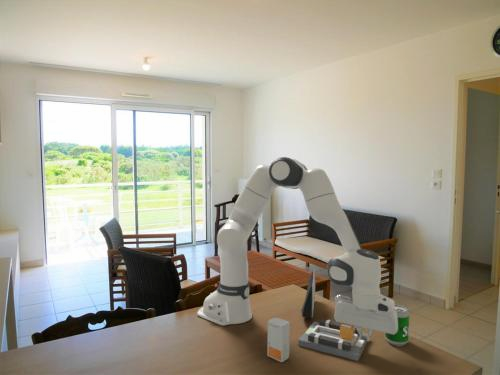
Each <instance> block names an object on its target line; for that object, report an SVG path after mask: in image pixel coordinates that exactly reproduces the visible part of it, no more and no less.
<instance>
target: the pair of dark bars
mask: <svg viewBox="0 0 500 375" xmlns="http://www.w3.org/2000/svg"><path fill="white" fill-rule="evenodd" d="M318 323H319V326H323V327H327V328H332V329H336V330H340V325H341V324H342V323H339V322H334V321H331V319H327V320H324V319H320V320H319V321H318ZM355 334H359V333H358V331H357V326H355ZM308 341H312V342H314V343H317V344H318V343H320V344H324V345H327V346H331V347H335V348H338V349H341V350H342V349H343V350H347V351H350V349H351V343H348V342H344V340H343V339H340V340H336V339H332V338H327V337H323V336H320V334H318V333H317V334H316V335H315V334H311V333H310V334H309V335H308Z"/></svg>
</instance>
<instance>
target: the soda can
mask: <svg viewBox="0 0 500 375" xmlns="http://www.w3.org/2000/svg"><path fill="white" fill-rule="evenodd" d="M394 309H395V310H396V312H397V317H398V331H397V333H396V334H394V335H393V334H389V333H384V334H385V335H384V336H385V340H386V341H387V342H388V343H389V344H391V345H393V346H397V347H403V346H405V345H406V344H408V343H409V336H410V335H409V334H410V312H409V310H408V309H407V308H406V307H405V306H403V305H398V304H395V306H394Z"/></svg>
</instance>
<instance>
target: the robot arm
mask: <svg viewBox="0 0 500 375" xmlns="http://www.w3.org/2000/svg"><path fill="white" fill-rule="evenodd" d="M278 187H282V188H285V189H292V190H296V189H299V190H300V191H301V194H302V196H303V199H304V202H305V205H306V209H307V212H308V213H309V216H310V217H311V218H312V220H314V221H315V222H317V223H320V224H323V225H326V226H328V227H330V228H331V229H333V230H334V231H335V233H336V234H337V237H338V239H339V241H340V244H341V246H342V248H343V251H344V254H341V255H337V256H334V257H333V258H331V259H329V261H328V262H327V264H326V274H327V276H328V278H329V280H330V281H331V282H332V283H334V284H335V285H340V286H350V287H351V291H352V293H351V296H350V295H343V294H338V295H336V296H335V297H334V306H335V308H334V315H333V318H334V319H333V320H334V321H335V323H338V324H342V323H344V324H348V325H353V326H355V327H356V328H357V331H358V333H359V335H360V340H365V341H367V342H370V339H371V338H370V337H371V335H372V334H373V332H374V331H376V332H381V333H383V334H385V333H389V334H393V335H394V334H396V333H397V331H398V317H397V312H396V310H395V309H394V306H395V305H396V304H395V303H396V302H395V300H394V299H392V298H390V297H388V296H386V295H384V294H381V289H380V283H381V279H382V266H381V260H380V257H379V255H378V254H377V253H376V252H375V251H372V250H370V249H365V248H363V247H362V244H361V243H360V240H359V238H358V236H357V234H356V231H355V230H354V227H353V225H352V222H351V220H350V218H349V217H348V215H347V214H346V212H345V211H344V209H343V208H342V207H341V204H340V203H339V200H338V198H337V195H336V192H335V189H334V187H333V185H332V182H331V180H330V177H328V174H327V173H326V171H325V170H324V169H321V168H315V167H314V168H310V169H308V168H307V167H306V165H305V164H304V163H302V162H300V161H298V160H297V159H294V158H291V157H286V156H282V157H278V158H275V159H274V160H273V161H272V162H271V164H270V165H267V164H260V165H258V166H256V168H254V170H253V171H252V172H251V174H250V175H249V177H248V178H247V180H246V181H245V184H244V185H243V188H242V189H241V191H240V193H239V195H238V197H237V199H236V201H235V202H234V205H233V208H232V210H231V212H230V215H229V217H228V219H227V220H226V222H225V223H224V225H223V226H222V227H220V228H219V230H218V232H217V235H216V244H217V247H218V248H217V249H218V257H219V264H220V266H219V267H220V280H219V281H218V282H217V283H215V284H214V285H215V286H214V287H215V288H216V287H217V288H216V290H214V291H213V292H212V293H210V294H209V295H208V296H206V297H205V299H204V301H203V305H202V307H200V308H199V309H198V310H197V312H196V313H197V314H196V315H197V316H198V317H200V318H203V319H205V320H208V321H210V322H212V323H215V324H217V325H219V326H228V325H237V324H243V323H246V322H249V321H250V320H252V318H253V314H252V309H251V305H250V282H249V261H248V252H247V250H248V249H247V243H248V242H247V241H248V240H249V238H250V237H251V234H252V232H253V231H254V229H255V227H256V225H257V222H259V219H260V217H261V215H262V213H263V212H264V210H265V207H266V206H267V205H268V204H267V203H268V202H269V200H270V198H271V197H272V195H273V193H274V191H275V190H276V189H277V188H278ZM362 329H367V332H368V333H367V334H365V333H366V332H363V330H362Z"/></svg>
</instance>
